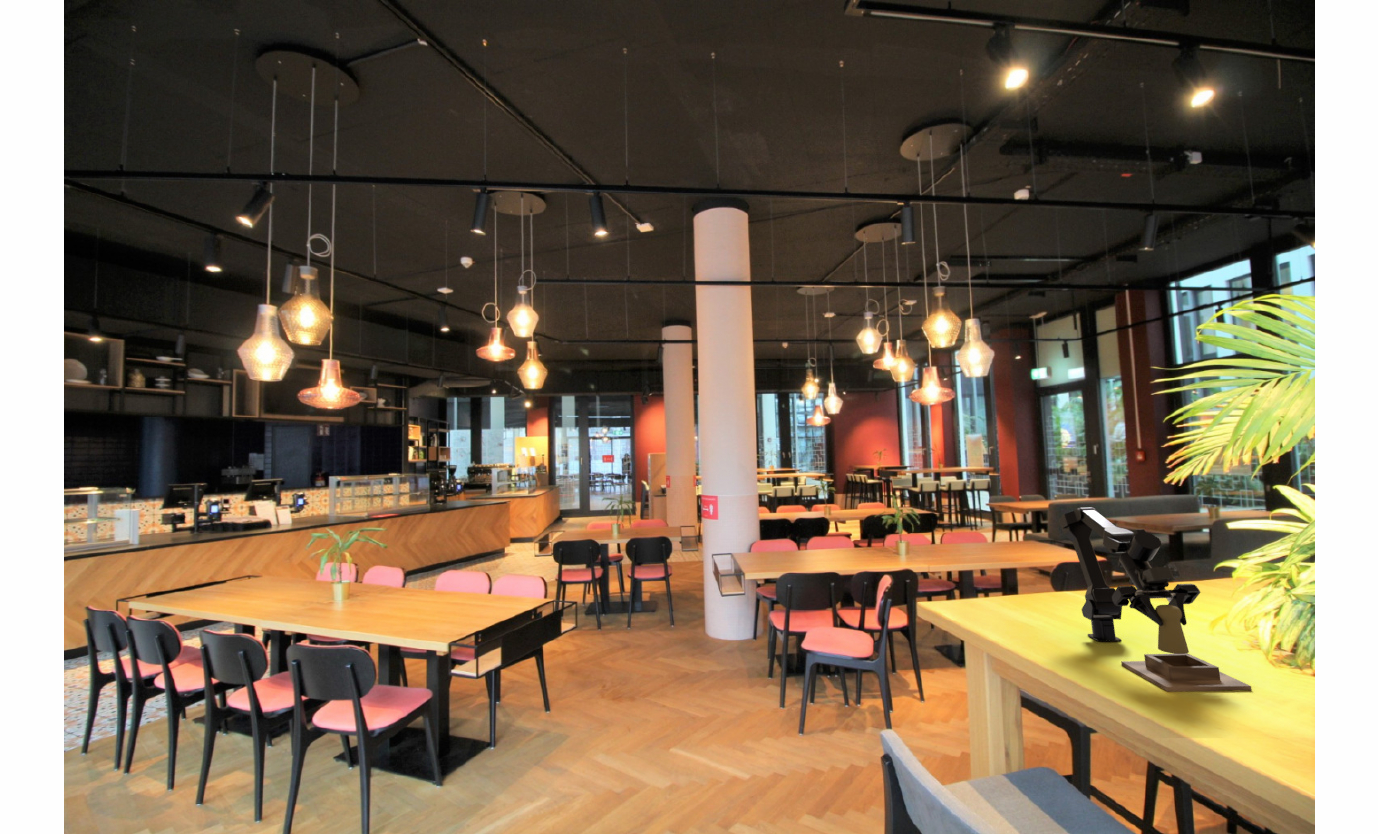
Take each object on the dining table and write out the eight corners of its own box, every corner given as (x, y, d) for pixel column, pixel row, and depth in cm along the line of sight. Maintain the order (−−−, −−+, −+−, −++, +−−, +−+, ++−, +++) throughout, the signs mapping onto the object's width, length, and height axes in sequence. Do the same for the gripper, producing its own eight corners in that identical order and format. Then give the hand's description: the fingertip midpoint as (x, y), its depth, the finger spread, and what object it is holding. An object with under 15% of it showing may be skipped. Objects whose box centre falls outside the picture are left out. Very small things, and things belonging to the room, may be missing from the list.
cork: (1195, 651, 144) (1189, 606, 145) (1177, 655, 142) (1171, 609, 143) (1168, 644, 149) (1163, 601, 150) (1151, 648, 148) (1146, 604, 149)
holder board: (1121, 665, 155) (1119, 649, 155) (1195, 663, 153) (1193, 648, 153) (1167, 691, 137) (1165, 674, 138) (1251, 690, 135) (1249, 672, 135)
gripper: (1112, 555, 153) (1144, 608, 141) (1190, 552, 150) (1229, 606, 138) (1099, 579, 160) (1128, 632, 148) (1173, 576, 157) (1209, 630, 146)
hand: (1173, 624), depth 145 cm, fingers closed on cork, 5 cm apart
